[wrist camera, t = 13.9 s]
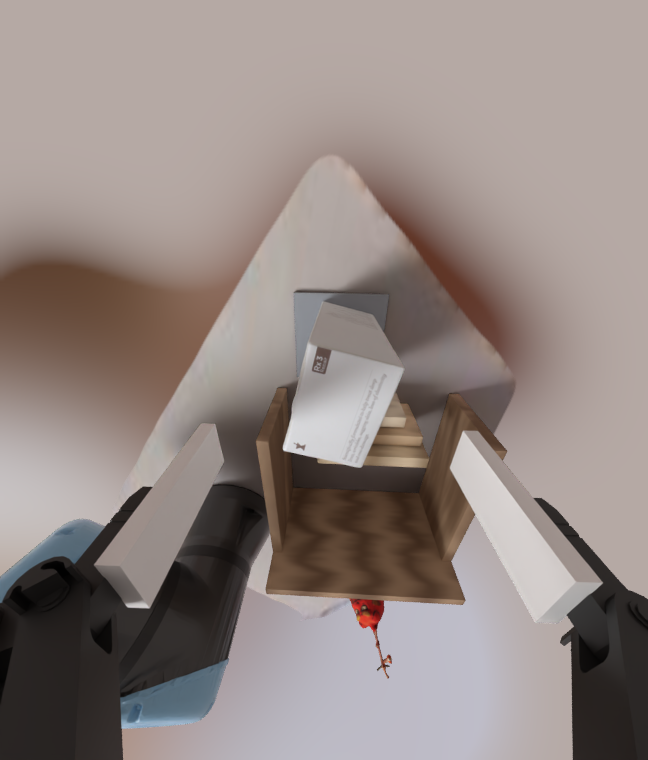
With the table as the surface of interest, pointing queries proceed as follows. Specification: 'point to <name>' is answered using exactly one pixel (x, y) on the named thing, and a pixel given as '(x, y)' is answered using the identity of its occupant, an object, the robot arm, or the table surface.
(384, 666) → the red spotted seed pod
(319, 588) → the walnut rack
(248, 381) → the table surface
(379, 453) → the offcut bundle
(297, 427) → the skincare box
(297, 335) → the grey rubber mat
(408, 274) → the table surface
